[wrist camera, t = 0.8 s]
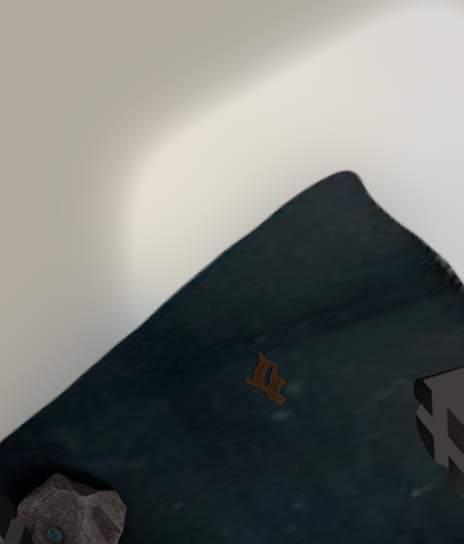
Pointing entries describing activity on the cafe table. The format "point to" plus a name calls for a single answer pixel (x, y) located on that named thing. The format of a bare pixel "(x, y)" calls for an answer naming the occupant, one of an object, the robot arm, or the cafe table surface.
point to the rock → (72, 513)
